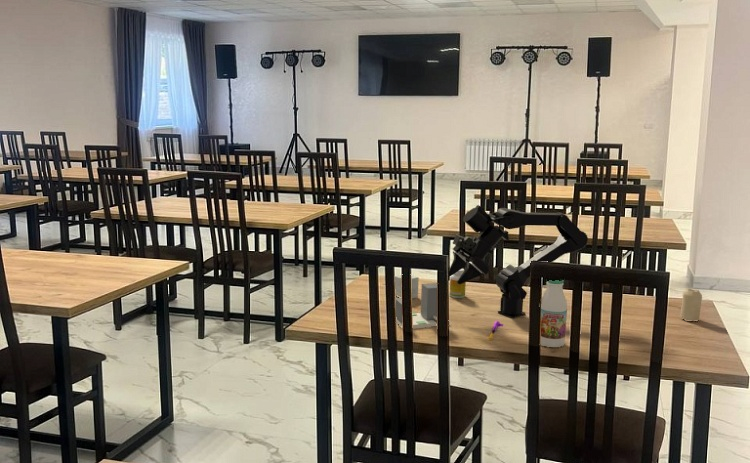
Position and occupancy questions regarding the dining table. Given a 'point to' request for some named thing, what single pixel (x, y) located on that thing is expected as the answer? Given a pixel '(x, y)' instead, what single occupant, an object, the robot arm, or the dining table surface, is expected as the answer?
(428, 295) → the gray block
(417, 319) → the plate
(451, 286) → the supplement bottle
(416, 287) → the product box
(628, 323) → the dining table surface
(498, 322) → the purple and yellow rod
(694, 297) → the candle
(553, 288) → the milk bottle
